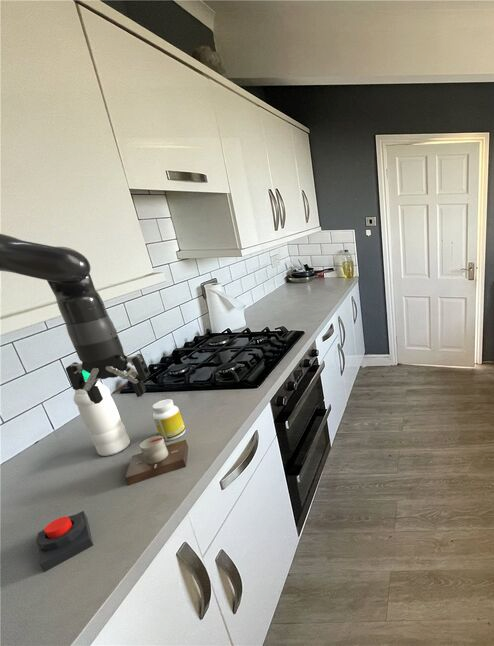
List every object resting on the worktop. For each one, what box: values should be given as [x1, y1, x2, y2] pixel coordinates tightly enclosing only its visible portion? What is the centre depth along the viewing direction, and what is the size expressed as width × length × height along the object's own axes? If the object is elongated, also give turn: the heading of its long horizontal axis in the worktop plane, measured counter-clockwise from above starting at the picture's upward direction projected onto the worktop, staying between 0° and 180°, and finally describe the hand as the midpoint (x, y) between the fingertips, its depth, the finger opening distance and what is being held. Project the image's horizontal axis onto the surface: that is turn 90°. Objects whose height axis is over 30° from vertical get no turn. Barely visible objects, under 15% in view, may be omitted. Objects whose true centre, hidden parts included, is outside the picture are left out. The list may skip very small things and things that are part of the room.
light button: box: [43, 516, 73, 539], centre depth 70 cm, size 4×4×2 cm
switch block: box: [36, 510, 94, 573], centre depth 71 cm, size 10×7×4 cm
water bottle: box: [73, 370, 131, 457], centre depth 94 cm, size 7×7×25 cm
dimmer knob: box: [139, 435, 168, 464], centre depth 90 cm, size 5×5×5 cm
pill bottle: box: [152, 398, 187, 442], centre depth 102 cm, size 6×6×11 cm
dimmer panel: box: [124, 439, 189, 486], centre depth 92 cm, size 12×9×3 cm
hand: (120, 398), depth 84 cm, fingers open, 8 cm apart
